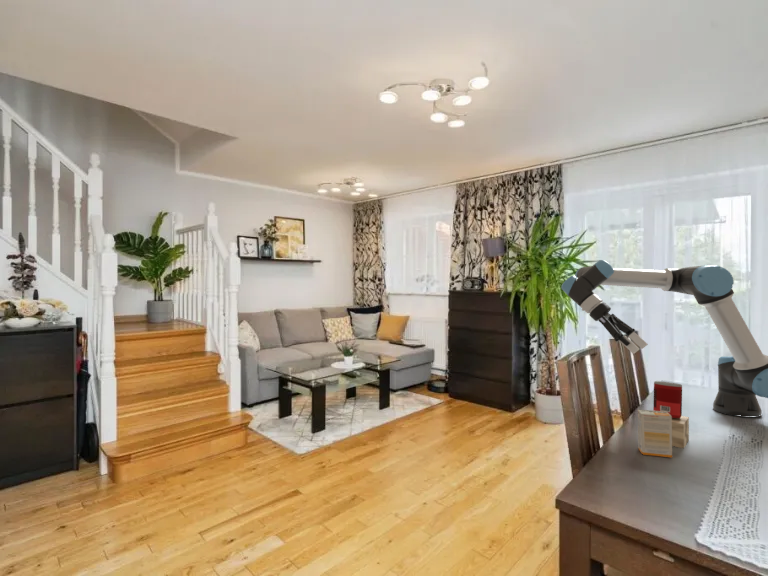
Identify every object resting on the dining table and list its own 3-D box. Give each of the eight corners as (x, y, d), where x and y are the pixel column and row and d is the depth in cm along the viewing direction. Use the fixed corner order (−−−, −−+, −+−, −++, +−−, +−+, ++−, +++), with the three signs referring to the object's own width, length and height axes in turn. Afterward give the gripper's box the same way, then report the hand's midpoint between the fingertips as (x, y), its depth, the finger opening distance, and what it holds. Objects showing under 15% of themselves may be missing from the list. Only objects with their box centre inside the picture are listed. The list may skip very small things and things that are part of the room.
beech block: (654, 433, 146) (654, 410, 145) (688, 440, 139) (688, 417, 138) (647, 440, 138) (647, 417, 138) (683, 449, 131) (683, 424, 131)
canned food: (687, 419, 135) (687, 385, 136) (662, 416, 135) (663, 383, 136) (671, 414, 142) (672, 382, 143) (648, 412, 143) (649, 380, 144)
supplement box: (667, 452, 129) (667, 411, 129) (672, 458, 124) (672, 415, 124) (637, 449, 131) (637, 408, 131) (641, 454, 127) (641, 413, 127)
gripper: (598, 312, 172) (640, 351, 161) (578, 316, 153) (624, 360, 143) (611, 299, 168) (656, 338, 158) (593, 302, 150) (641, 346, 139)
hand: (641, 349), depth 150 cm, fingers open, 13 cm apart
